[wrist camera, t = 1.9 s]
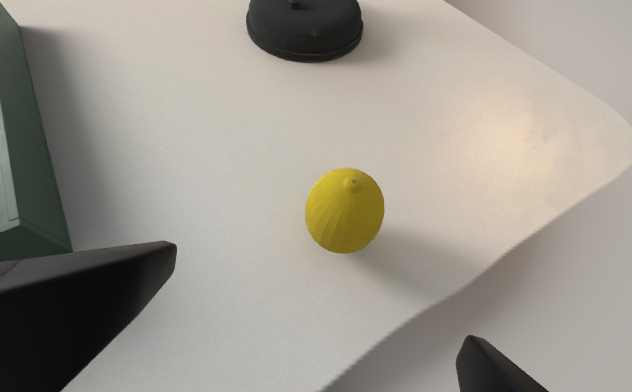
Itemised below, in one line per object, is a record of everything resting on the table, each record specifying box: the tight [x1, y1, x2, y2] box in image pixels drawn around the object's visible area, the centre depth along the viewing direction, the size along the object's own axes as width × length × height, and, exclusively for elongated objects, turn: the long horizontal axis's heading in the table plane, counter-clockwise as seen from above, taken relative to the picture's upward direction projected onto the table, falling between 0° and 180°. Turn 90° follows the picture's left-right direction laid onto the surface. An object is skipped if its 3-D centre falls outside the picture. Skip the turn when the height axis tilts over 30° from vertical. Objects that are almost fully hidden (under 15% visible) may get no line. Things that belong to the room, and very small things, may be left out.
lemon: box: [305, 168, 384, 253], centre depth 21 cm, size 6×6×8 cm
